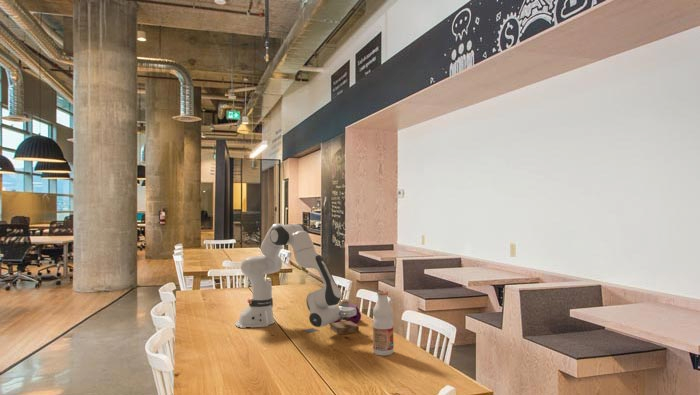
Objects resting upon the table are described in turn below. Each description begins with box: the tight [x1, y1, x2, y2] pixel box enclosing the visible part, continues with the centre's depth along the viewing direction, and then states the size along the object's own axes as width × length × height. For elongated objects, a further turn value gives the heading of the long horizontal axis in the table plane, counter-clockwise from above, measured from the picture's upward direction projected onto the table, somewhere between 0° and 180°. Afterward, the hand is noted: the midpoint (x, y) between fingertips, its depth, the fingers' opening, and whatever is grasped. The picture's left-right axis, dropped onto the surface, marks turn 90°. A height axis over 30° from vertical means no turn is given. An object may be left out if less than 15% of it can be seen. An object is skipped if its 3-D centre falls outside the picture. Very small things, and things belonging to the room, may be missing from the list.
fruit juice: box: [372, 290, 394, 357], centre depth 209 cm, size 9×9×28 cm
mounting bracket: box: [328, 303, 362, 325], centre depth 264 cm, size 9×8×18 cm
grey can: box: [338, 298, 350, 321], centre depth 247 cm, size 6×6×10 cm
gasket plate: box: [301, 327, 320, 334], centre depth 247 cm, size 7×7×1 cm
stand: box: [329, 320, 360, 335], centre depth 247 cm, size 12×12×3 cm
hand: (345, 307), depth 247 cm, fingers closed on grey can, 5 cm apart
